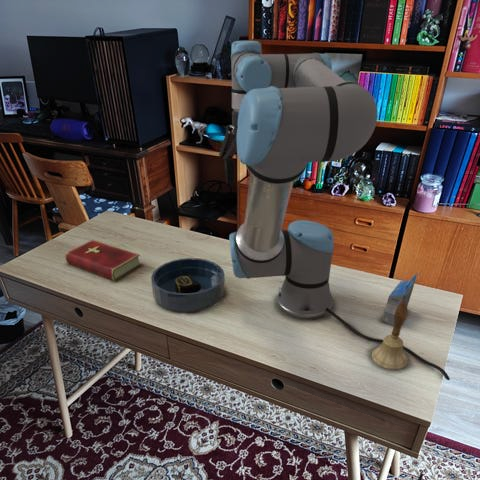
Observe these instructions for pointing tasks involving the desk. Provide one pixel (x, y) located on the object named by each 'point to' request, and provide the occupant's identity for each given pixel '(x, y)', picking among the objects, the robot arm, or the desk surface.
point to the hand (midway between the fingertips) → (245, 188)
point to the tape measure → (186, 284)
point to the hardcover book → (103, 259)
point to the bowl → (201, 271)
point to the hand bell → (393, 344)
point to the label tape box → (398, 298)
